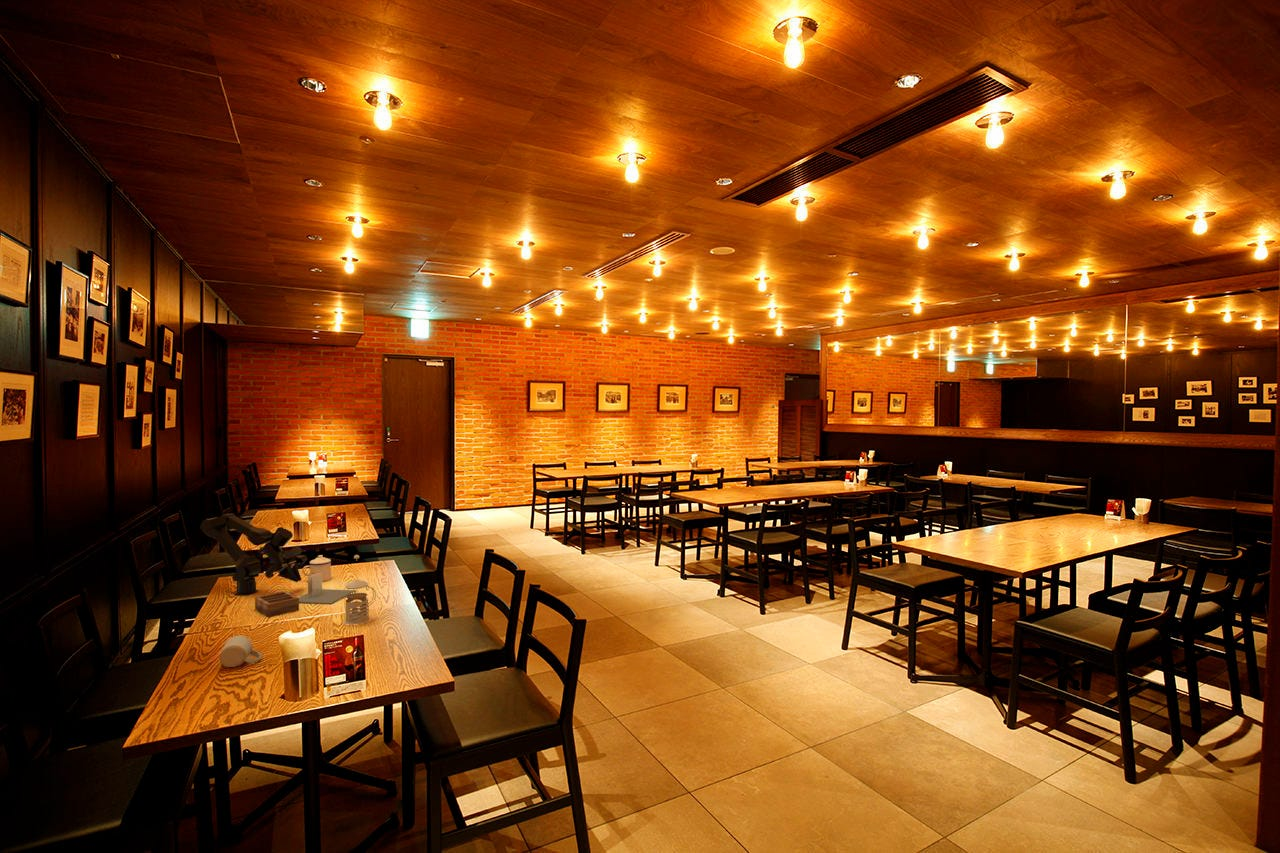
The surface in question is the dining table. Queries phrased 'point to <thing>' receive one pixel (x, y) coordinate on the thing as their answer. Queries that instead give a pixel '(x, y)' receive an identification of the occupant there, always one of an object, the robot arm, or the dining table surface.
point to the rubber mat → (326, 597)
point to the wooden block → (314, 585)
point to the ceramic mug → (238, 652)
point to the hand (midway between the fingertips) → (299, 580)
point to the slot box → (276, 604)
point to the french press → (357, 603)
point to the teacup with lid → (320, 567)
